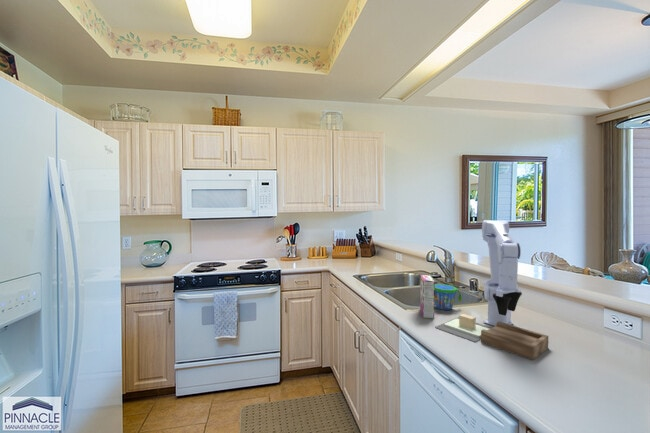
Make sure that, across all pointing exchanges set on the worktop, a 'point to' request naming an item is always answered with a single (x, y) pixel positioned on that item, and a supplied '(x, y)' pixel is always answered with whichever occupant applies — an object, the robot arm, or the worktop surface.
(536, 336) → the walnut box
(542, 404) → the worktop surface
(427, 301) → the candy bar box
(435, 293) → the snack cup
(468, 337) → the charcoal mat
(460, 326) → the cover plate
